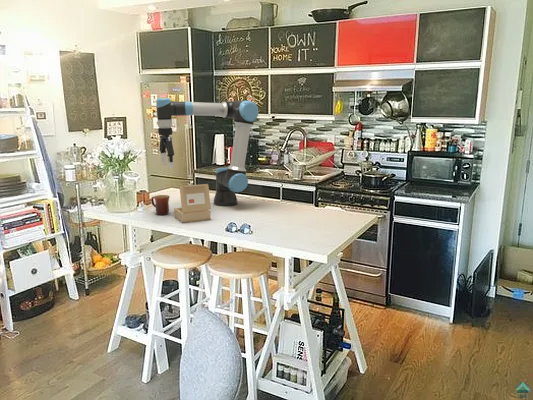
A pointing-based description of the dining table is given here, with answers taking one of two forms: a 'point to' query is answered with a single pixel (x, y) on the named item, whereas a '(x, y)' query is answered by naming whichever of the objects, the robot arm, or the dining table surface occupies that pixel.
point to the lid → (195, 198)
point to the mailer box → (192, 215)
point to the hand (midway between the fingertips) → (167, 166)
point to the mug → (161, 204)
